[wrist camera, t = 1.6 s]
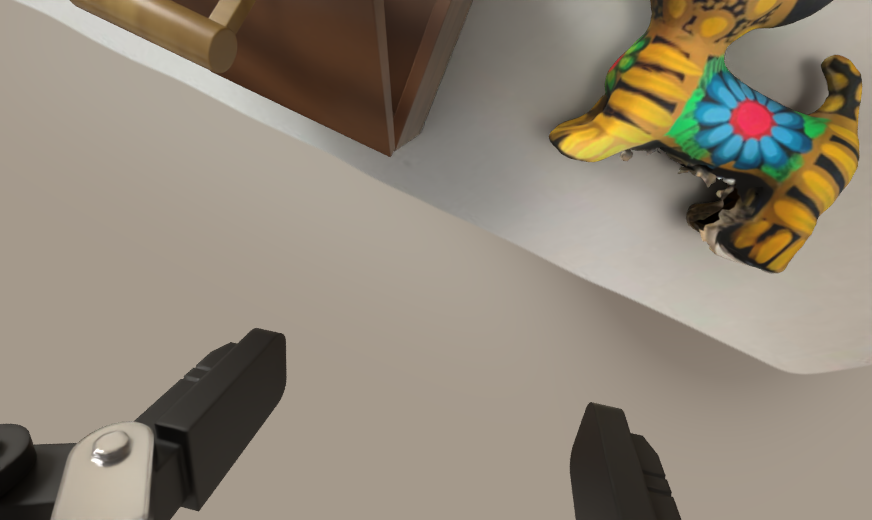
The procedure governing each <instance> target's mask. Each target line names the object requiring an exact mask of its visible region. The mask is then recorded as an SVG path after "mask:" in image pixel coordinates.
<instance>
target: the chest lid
mask: <svg viewBox="0 0 872 520" xmlns="http://www.w3.org/2000/svg"><path fill="white" fill-rule="evenodd" d="M70 1H71V2H72V3H73V4H74V5H75V6H77V7H79V8H81V9H83V10H85V11H87V12H89V13H91V14H93V15H96V16H98V17H100V18H102V19H104V20H106V21H108V22H110V23H112V24H114V25H116V26H119V27H121V28H123V29H125V30H127V31H129V32H131V33H133V34H135V35H137V36H139V37H142V38H144V39H146V40H148V41H150V42H152V43H154V44H156V45H158V46H160V47H162V48H165V49H167V50H169V51H171V52H173V53H175V54H177V55H179V56H181V57H183V58H185V59H188V60H190V61H192V62H194V63H196V64H198V65H200V66H202V67H204V68H206V69H208V70H210V71H211V72H213V73H215V74H217V75H219V76H221V77H224V78H226V79H228V80H230V81H232V82H234V83H236V84H238V85H240V86H242V87H244V88H247V89H249V90H251V91H253V92H255V93H257V94H259V95H261V96H263V97H265V98H267V99H270V100H272V101H274V102H276V103H278V104H280V105H282V106H284V107H286V108H288V109H290V110H293V111H295V112H297V113H299V114H301V115H303V116H305V117H307V118H309V119H311V120H313V121H316V122H318V123H320V124H322V125H324V126H326V127H328V128H330V129H332V130H334V131H336V132H338V133H341V134H343V135H345V136H347V137H349V138H351V139H353V140H355V141H357V142H359V143H361V144H364V145H366V146H368V147H370V148H372V149H374V150H376V151H378V152H380V153H382V154H384V155H387V156H389V157H391V156H392V154H393V152H394V150H395V138H394V126H393V113H392V100H391V87H390V75H389V62H388V49H387V36H386V24H385V11H384V0H70Z"/></svg>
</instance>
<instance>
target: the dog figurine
mask: <svg viewBox="0 0 872 520" xmlns="http://www.w3.org/2000/svg"><path fill="white" fill-rule="evenodd" d="M650 1H651V10H652V17H651V22H650V25H649V27H648V29H647V31H646V33H645V34H644V35H643V36H642V37H641V38H639V39H638V40H637V41H636V42H635V43H634V44H633V45H632V46H631V47H630V48H629V49H628V50H627V51H626V52H625V53H624V54H623V55H622V56H621V57H620V58H619V59H618V60H617V61H616V62H615V63H614V64H613V66H612V67H611V68H610V70H609V71H608V73H607V76H606V81H605V91H606V93H605V95H603V96H602V97H601V98H600V99H599V101H598V102H597V103H596V104H595V105H594V107H593V108H592V109H591V110H590V111H589V112H587V113H586V114H584V115H583V116H580V117H578V118H575V119H572V120H569V121H566V122H563V123H561V124H559V125H558V126H557V127H556V128H555V129H554V130H553V131H551V133H550V134H549V139H550V142H551V143H552V144H553V145H554V146H555V147H556V148H557V149H558V151H559V152H560V153H561V154H563V155H564V156H566V157H568V158H571V159H575V160H580V161H586V162H596V161H600V160H603V159H605V158H607V157H609V156H612V155H614V154H616V153H619V152H621V151H623V152H622V154H621V156H620V158H621V159H622V160H623V161H628V160H629V159H631V158H632V155H633V153H632V151H631V150H645V151H647V155H649V154H651V153H653V152H655V151H657V149H656V148H658V147H660V149H662V150H663V151H664V152H665V153H666V154H667V155H668V156H669V157H670V159H673V160H674V161H676V162H678V163H679V164H681V165H682V166H684V167H681V168H680V169H679V170H680V171H679V172H678V174H681V173H686V172H688V171H690V172H691V173H692V174H693V175H695V174H696V173H697V176H698V177H701V178H702V179H703V180H704V181H705V183H706V185H707V187H709V186H710V185H711V184H712V183H714V182H716V178H718V179H722V178H724V179H723V182H725V183H727V184H728V187H727V189H725V190H722V189H720V190H718V191H717V193H716V194H717V196H718V197H720V198H721V200H719V201H716V202H711V203H702V204H693V205H691V206H690V207H689V209H688V212H687V214H686V219H687V223H688V224H689V225H690V226H691V227H692V228H693V229H695V230H696V231H698V232H699V233H700V234H701V238H702V240H703V241H706V242H707V243H708V244H709V245H710V248H709V249H710V250H711V251H713V252H714V253H715V254H717V255H719V256H721V257H724V258H726V259H729V260H732V261H735V262H738V263H742V264H746V265H749V266H752V267H756V268H759V269H761V270H762V271H765V272H768V273H780V272H782V271H783V270H785V268H786V267H787V265H788V263H789V262H790V260H791V259H792V258H793V256H794V255H795V254H796V252H797V251H798V250H799V249H800V248H801V247H802V246H803V245H804V243H805V241H806V240H807V239H808V237H809V236H810V235H811V234H812V232H813V229H814V227H815V225H816V222H817V219H818V217H819V216H820V215H821V214H822V213H823V212H824V211H826V210H827V209H828V208H829V207H830V206H831V205H832V204H833V203H834V201H835V200H836V199H837V197H838V196H839V195H840V193H841V192H842V190H843V189H844V188H845V187H846V186H847V185H848V183H849V182H850V181H851V179H852V177H853V175H854V173H855V171H856V169H857V167H858V161H859V140H858V135H857V130H858V114H859V106H860V102H861V94H862V79H861V74H860V72H859V71H858V70H857V69H856V67H855V66H854V64H853V63H852V62H851V61H850V60H849V59H847V58H845V57H843V56H840V55H833V56H830V57H828V58H826V59H825V60H824V61H823V62H822V64H821V68H822V71H823V73H824V76H825V79H826V81H827V85H828V91H829V95H828V97H827V98H826V100H825V102H824V104H823V105H822V106H821V107H820V108H819V109H818V110H817V111H815V112H813V113H812V114H809V115H805V114H803V113H800V112H797V111H794V110H792V109H789V108H787V107H785V106H783V105H781V104H780V103H778V102H775V101H773V100H771V99H769V98H768V97H766V96H764V95H762V94H760V93H759V92H757V91H755V90H753V89H751V88H750V87H749V86H747V85H746V84H744V83H743V82H741V81H740V80H739V79H737V78H736V77H735V76H734V75H732V74H731V73H730V72H729V70H728V69H727V68H726V66H725V63H724V54H725V50H726V49H727V47H728V46H729V45H730V44H731V43H732V42H734V41H735V40H736V39H738V38H739V37H741V36H742V35H744V34H745V33H747V32H749V31H750V30H753V29H758V28H775V27H780V26H785V25H788V24H791V23H794V22H796V21H799V20H801V19H804V18H806V17H808V16H811V15H812V14H814V13H816V12H817V11H819V10H821V9H822V8H823V7H825V6H826V5H828V4H829V3H830V2H832V1H833V0H650ZM630 149H631V150H630ZM659 153H660V152H659Z"/></svg>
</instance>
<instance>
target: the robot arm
mask: <svg viewBox="0 0 872 520" xmlns="http://www.w3.org/2000/svg"><path fill="white" fill-rule="evenodd" d="M285 386H286V339H285V336H284V335H283V334H282V333H277V332H273V331H268V330H263V329H259V328H255V329H253V330H251V331H250V332H249V333H248V334H247V335H246V336H245V337H244V338H243V339H242V340H241V341H240V342H239V343H238V344H236V343H232V342H230V343H229V344H226V345H224V346H222V347H220V348H218V349H216V350H214V351H212V352H210V354H208V355H207V356H206V357H205V358H204V359H203V360H202V361H200V362H199V363H198V364H197V365H196V368H193V369H192V370H190V372H188V373H187V374H186V375H185V376H184V379H180V380H179V381H178V382H177V383H176V384H175V385H174V386H173V387H171V388H170V389H169V390H168V391H167V392H166V393H165V394H164V395H163V396H161V397H160V398H159V399H158V400H157V401H156V402H155V403H154V404H153V405H151V406H150V407H149V408H148V409H147V410H146V411H145V412H144V413H143V414H141V415H140V416H139V417H138V418H137V419H136V420H135V421H134V422H120V423H115V424H111V425H108V426H105V427H102V428H100V429H98V430H96V431H94V432H92V433H90V434H89V435H87V436H86V437H84V438H83V439H82V440H81V441H79V442H78V443H68V444H40V445H33V442H32V439H31V437H30V434H29V431H28V430H27V429H26V428H25V427H23V426H20V425H16V424H0V520H170V519H171V518H172V517H173V515H174V514H175V513H176V512H177V510H178V509H179V508H180V506H181V507H184V508H188V509H192V510H196V511H199V510H200V509H201V507H202V506H203V505H204V504H205V502H206V501H207V500H208V498H209V497H210V496H211V494H212V493H213V491H214V490H215V489H216V487H217V486H218V485H219V483H220V482H221V481H222V479H223V478H224V477H225V475H226V474H227V472H228V471H229V470H230V468H231V467H232V466H233V464H234V463H235V462H236V460H237V459H238V457H239V456H240V455H241V453H242V452H243V450H244V449H245V448H246V447H247V445H248V444H249V442H250V441H251V440H252V438H253V437H254V436H255V434H256V433H257V432H258V430H259V429H260V427H261V426H262V425H263V423H264V422H265V421H266V419H267V418H268V417H269V415H270V414H271V412H272V411H273V410H274V408H275V407H276V406H277V404H278V403H279V401H280V400H281V397H282V395H283V393H284V390H285ZM570 476H571V485H572V493H573V500H574V509H575V517H576V520H681V518H680V515H679V512H678V509H677V506H676V503H675V501H674V498H673V497H671V493H672V492H671V490H670V487H669V484H668V481H667V480H666V479H665V473H664V470H663V468H662V465H661V462H660V459H659V456H658V455H657V453H656V452H655V451H654V449H653V448H652V447H651V446H650V445H649V443H648V442H647V441H646V439H645V438H644V437H643V436H641V435H637V434H632V433H630V430H629V427H628V423H627V420H626V417H625V414H624V412H623V410H622V409H619V408H615V407H610V406H606V405H601V404H597V403H592V402H590V403H589V404H588V406H587V407H586V410H585V413H584V416H583V419H582V421H581V425H580V427H579V430H578V433H577V436H576V438H575V442H574V444H573V447H572V452H571V458H570Z"/></svg>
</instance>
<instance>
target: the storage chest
mask: <svg viewBox="0 0 872 520" xmlns="http://www.w3.org/2000/svg"><path fill="white" fill-rule="evenodd" d="M472 1H473V0H384V11H385V24H386V36H387V49H388V62H389V75H390V87H391V100H392V113H393V126H394V138H395V150H394V151H396V150H397V149H399V148H400V147H402V146H403V145H405V144H406V143H407V142H409V141H410V140H412V139H413V138H415V137H416V136H418V135H419V134H420V133H421V131H422V128H423V126H424V123H425V120H426V118H427V115H428V113H429V110H430V108H431V105H432V103H433V100H434V98H435V95H436V93H437V90H438V88H439V85H440V82H441V80H442V77H443V75H444V72H445V70H446V67H447V65H448V62H449V60H450V57H451V55H452V52H453V50H454V47H455V44H456V42H457V39H458V37H459V34H460V32H461V29H462V27H463V24H464V22H465V19H466V17H467V14H468V12H469V9H470V6H471V4H472Z"/></svg>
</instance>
